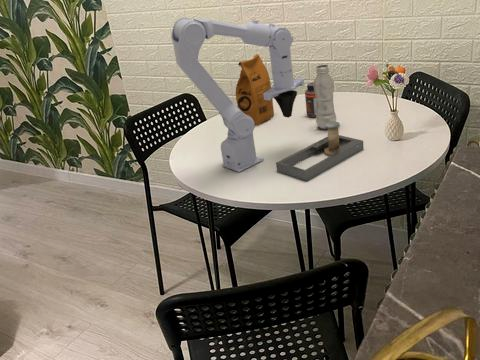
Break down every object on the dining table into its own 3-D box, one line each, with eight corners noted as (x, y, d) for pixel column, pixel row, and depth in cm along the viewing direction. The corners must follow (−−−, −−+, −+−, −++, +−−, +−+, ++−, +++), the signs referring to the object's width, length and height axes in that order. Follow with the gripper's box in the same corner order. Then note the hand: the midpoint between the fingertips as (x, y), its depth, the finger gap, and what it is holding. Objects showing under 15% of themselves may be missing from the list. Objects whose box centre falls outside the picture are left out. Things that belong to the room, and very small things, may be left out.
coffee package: (235, 124, 180) (225, 62, 170) (256, 112, 188) (248, 53, 178) (257, 127, 173) (248, 63, 164) (278, 115, 182) (271, 53, 172)
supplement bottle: (303, 115, 178) (300, 83, 173) (318, 111, 180) (315, 79, 175) (312, 119, 173) (310, 87, 168) (327, 115, 175) (325, 83, 170)
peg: (334, 158, 143) (332, 129, 139) (320, 153, 147) (318, 125, 143) (348, 151, 145) (347, 122, 141) (334, 147, 150) (332, 119, 146)
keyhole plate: (306, 181, 132) (305, 172, 131) (276, 171, 140) (275, 162, 139) (363, 149, 145) (363, 140, 144) (333, 141, 153) (333, 133, 152)
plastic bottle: (321, 132, 161) (316, 70, 152) (313, 126, 167) (308, 66, 158) (340, 128, 162) (336, 66, 153) (331, 122, 168) (327, 62, 159)
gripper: (273, 79, 136) (279, 127, 141) (310, 64, 143) (314, 110, 149) (255, 76, 141) (262, 122, 147) (292, 62, 148) (297, 106, 154)
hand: (287, 116), depth 148 cm, fingers closed
